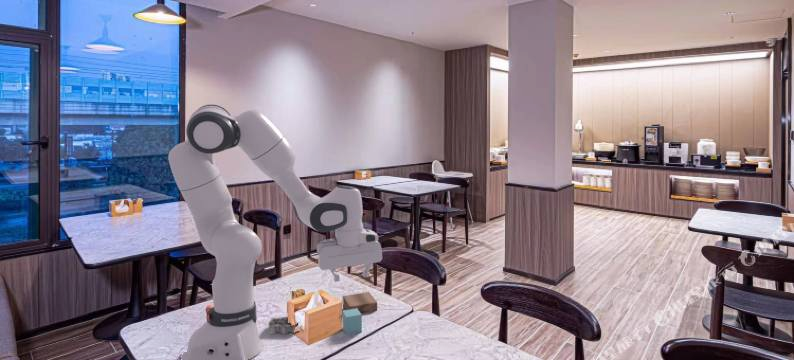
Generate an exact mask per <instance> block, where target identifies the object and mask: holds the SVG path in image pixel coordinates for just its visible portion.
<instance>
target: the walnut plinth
mask: <svg viewBox="0 0 794 360" xmlns="http://www.w3.org/2000/svg"><path fill="white" fill-rule="evenodd" d="M342 304H343V306H344V308H345V309H346V310H350V309H356V308H357V309H358V310H359V312H360V313H361V314H363V313H370V312H374V311H378V301H377V300H376V299H375V297H374V296H373V295H372V293H370V291H369V292H368V291H367V292H362V293H360V292H359V293H355V294H348V295H343V296H342Z"/></svg>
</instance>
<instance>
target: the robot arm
mask: <svg viewBox="0 0 794 360" xmlns="http://www.w3.org/2000/svg"><path fill="white" fill-rule="evenodd" d="M189 117H190V118H189V120H188V123H187V125H186V129H185V131H186V132H185V133H186V134H185V135H186V140H185V141H183V142H180V143H178V144H176V145H175V146H174V147H172V148H171V149H170V151H169V152H168V157H167V158H168V163H169V167H170V170H171V173H172V176H173V178H174V181H175V183H176V185H177V188H178V191H180V193H181V195H182V197H183V199H184V201H185V203H186V206H187V207H188V209H189V212H190V213H191V215H192V218H193V220H194V223H195V227H196V230H197V233H198V236H199V240H200V243H201V245H202V246H203V248H204V250H205V251H206V252H207V253H209V254H210V255H212V256H214V257H215V260H216V270H215V275H214V279H213V280H212V282H211V289H212V303H213V305H211V304H210V305H209V304H208V305H207V306H206V307H205V313H206V322H205V323H203V324H202V325H201V326H200V327H198V328H197V329H196V330H194V332H193V333H192V334H191V335H190V338H189V341H188V344H187V347H186V348H184V350H186V349H187V348H188V349H187V352H184V353H183V352H182V353H183V355H182V357H181V356H180V357H181V359H182V360H248V359H249V360H251V359H253V358H255V357H257V355H258V354H260V353H261V351H262V350H263V347H264V345H263V342H262V341H261V337H260V334H259V330H258V327H257V319H258V312H257V305H256V301H255V298H254V295H255V294H254V271H255V265H256V262H257V260H258V259H259V258H260V256H261V253H262V249H263V244H262V241H261V238H260V237H259V236H258V235H257V234H256V232H254V230H252V229H251V228H250V227H248V226H246V225H243V224H241V223H239V221H238V220H237V218H236V217H235V213H234V208H233V205H232V202H233V197H232V195H231V193H230V190H229V188H228V186H227V184H226V182H225V180H224V178H223V176H222V173H221V172H220V170H219V167H218V166H217V162H216V160H215V154H217V153H220V152H221V153H222V152H224V151H226V150H230V149H232V148H235V147H239V148H240V149H241V150H242V151H243V152H244V153H245V154H246V156H247V157H248V158H249V159H250V160H251V162H253V164H254V165H255V166H256V167H257V168H258V169H259V170H260V171H261V172H262V173H263V174H265V175H266V176H267V177H268V178H269V179H271V180H273V181H274V182H275V183H276V184H277V185H278V187H279V188H280V189H281V190H282V192H283V194H285V196H287V199H289V201H290V202H291V204H292V207H293V211H294V215H295V217H296V219H297V220H298V222H299V223H300V224H303V225H304V226H307V227H308V228H311V229H313V230H314V231H316V232H319V233H328V232H332V231H334V233H335V237H334V238H329V239H328V238H327V239H322V240H321V241H319V242H318V243H317V245H316V253H317V254H318V257H317V265H318V267H319V268H320V270H321V271H327V270H329V271H330V273H331V274H332V275H333V281H334V282H335V283H336V282H340V280H341V279H340V275H339V273H338V274H337V273H335V272H336V269H340V268H341V269H342V268H347V267H354V266H355V267H356V266H361V265H365V266H366V267H365V269H364V270H362V276H363V278H369V276H370V275H369V271H370V270H371V269H372V265H373V263H374V264H376V263H380V262H381V261H382V260H383V251H382V245H381V243H380V242H379V235H378V233H376V232H375V231H373V230H371V229H366V228H364V224H363V219H362V218H363V214H364V213H363V212H364V211H363V200H362V193H361V191H360V190H359V188H357V187H355V186H349V185H337V186H335V188H334V189H333V190H331V191H330V192H329V193H327V194H326V195H324V196H323V197H321V196H319V195H317V194H316V193H315V194H314V193H313V192H311V190H309V189H308V187H306V185H305V184H304V183H303V181H302V180H301V178H300V177H299V176H298V174H297V172H296V171H295V167H294V166H295V162H296V154H295V151H294V149H293V147H292V146H291V144H290V143H289V141H288V140H287V138H286V137H285V135H284V134H283V133H282V132H281V131H280V129H278V127H277V126H276V125H275V124H274V123H273V122H272V121H271V119H269V118H268V117H267V116H266V115H265V114H264V113H263V112H261V111H259V110H255V109H249V110H246V111H243V112H242V113H240V114H239V115H235V116H233V115H231V114H230V113H229V111H228V110H226V109H225V108H224V107H222V106H220V105H218V104H205V105H203V106H200V107H198V109H196V110H195V111H194V112H193V113H192V114H191V115H190V116H189ZM254 356H255V357H254ZM181 359H180V358H179V360H181Z"/></svg>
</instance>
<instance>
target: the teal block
mask: <svg viewBox="0 0 794 360" xmlns="http://www.w3.org/2000/svg"><path fill="white" fill-rule="evenodd" d="M341 313H342V329H343V331H344V332H345V335H346V336H349V335H353V334H355V335H356V334H360V333H363V327H362V326H363V324H362V323H363V322H362V313H360V312H359V310H358V309H357V308H356V309H350V310H347V309H346V310H345V309H344V310H342V312H341Z"/></svg>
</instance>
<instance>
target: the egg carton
mask: <svg viewBox="0 0 794 360" xmlns="http://www.w3.org/2000/svg"><path fill="white" fill-rule="evenodd" d="M288 317H289V316H281V317H277V318H276V317H272V318H271V319H270V320H269V321H268V323H267V325H268V333H270V332H271V335H275V334H277V333H281V332H282V333H281V334H282V335H285V334H287V333H292V334H294V330H295V326H296V325H293V326H292V325H290V324H288ZM276 332H277V333H276Z"/></svg>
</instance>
